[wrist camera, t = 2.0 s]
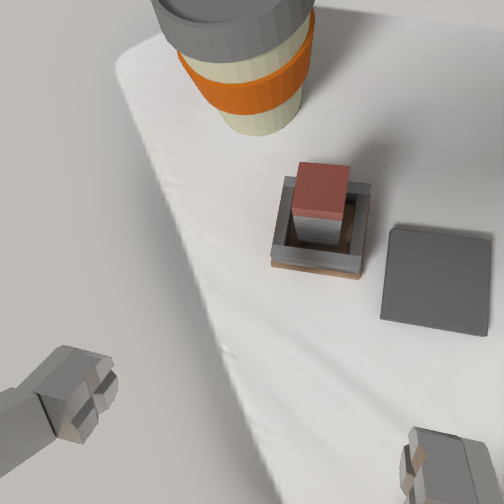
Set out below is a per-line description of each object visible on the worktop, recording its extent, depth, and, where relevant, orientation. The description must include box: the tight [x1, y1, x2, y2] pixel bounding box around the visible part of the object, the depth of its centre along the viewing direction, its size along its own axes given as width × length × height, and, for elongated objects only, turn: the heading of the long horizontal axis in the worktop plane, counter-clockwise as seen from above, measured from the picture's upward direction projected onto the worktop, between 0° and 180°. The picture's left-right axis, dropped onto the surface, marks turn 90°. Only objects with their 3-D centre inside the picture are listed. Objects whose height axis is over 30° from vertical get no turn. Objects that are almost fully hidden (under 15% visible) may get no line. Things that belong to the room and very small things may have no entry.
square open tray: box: [270, 176, 371, 280], centre depth 33 cm, size 8×8×4 cm
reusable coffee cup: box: [151, 0, 315, 136], centre depth 32 cm, size 13×13×15 cm
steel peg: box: [291, 162, 350, 250], centre depth 29 cm, size 4×4×9 cm
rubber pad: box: [380, 229, 491, 337], centre depth 31 cm, size 8×8×1 cm
